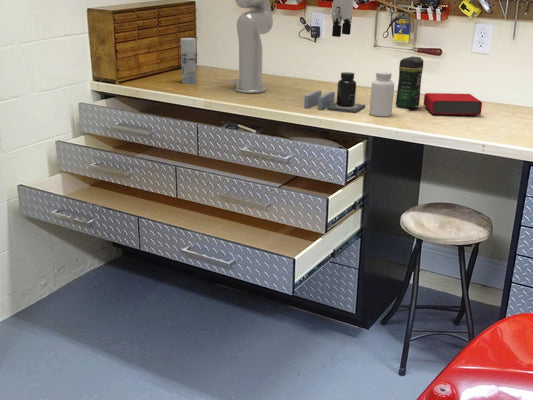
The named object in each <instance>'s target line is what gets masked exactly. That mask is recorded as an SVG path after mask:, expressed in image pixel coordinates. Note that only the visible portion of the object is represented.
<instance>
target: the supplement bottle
mask: <svg viewBox="0 0 533 400" xmlns="http://www.w3.org/2000/svg"><path fill="white" fill-rule="evenodd" d="M354 79H355V72H349V71H348V72H347V71H343V72H341V73H340V80H338V82H337V91H336V103H337V105H338V106H341V107H353V106H354V105H355V104H356V95H357V93H356V92H357V82H356V81H355V80H354Z"/></svg>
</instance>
